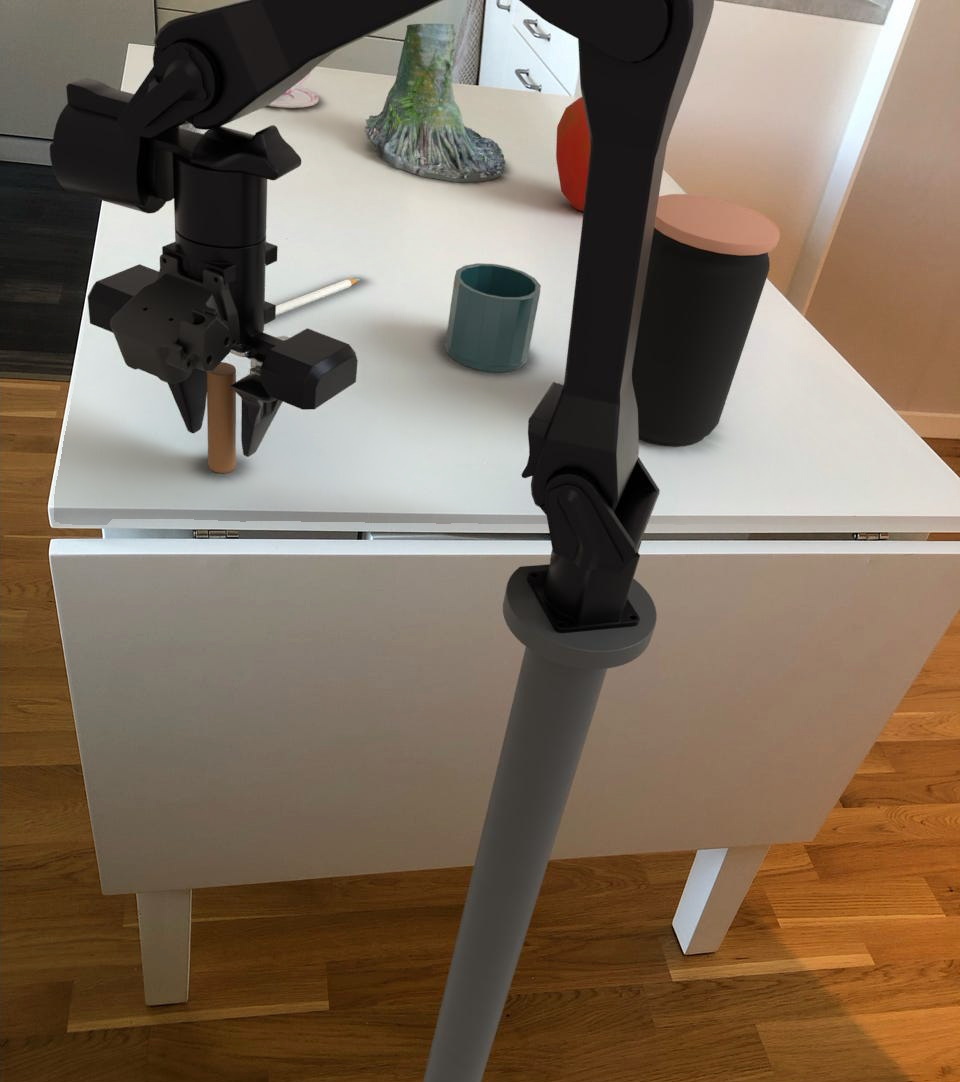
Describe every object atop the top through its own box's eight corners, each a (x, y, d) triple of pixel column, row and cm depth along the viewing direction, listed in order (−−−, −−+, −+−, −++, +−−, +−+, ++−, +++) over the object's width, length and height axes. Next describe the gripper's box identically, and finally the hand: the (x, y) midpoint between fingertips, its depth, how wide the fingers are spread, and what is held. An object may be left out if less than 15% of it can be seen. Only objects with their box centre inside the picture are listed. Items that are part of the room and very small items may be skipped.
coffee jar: (739, 438, 96) (808, 238, 85) (651, 459, 91) (713, 249, 79) (661, 382, 102) (716, 189, 91) (574, 400, 97) (621, 197, 85)
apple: (566, 227, 131) (591, 103, 122) (527, 191, 139) (548, 72, 130) (653, 228, 136) (683, 109, 127) (611, 193, 144) (636, 79, 135)
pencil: (224, 331, 97) (225, 323, 97) (356, 280, 110) (356, 274, 110) (231, 334, 97) (231, 327, 97) (362, 283, 110) (362, 277, 109)
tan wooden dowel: (237, 472, 80) (238, 374, 75) (209, 474, 79) (208, 375, 74) (233, 458, 81) (233, 361, 76) (206, 459, 81) (204, 361, 76)
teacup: (235, 104, 149) (235, 55, 145) (232, 80, 158) (232, 33, 154) (322, 113, 152) (325, 65, 148) (315, 89, 160) (317, 43, 157)
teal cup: (538, 371, 100) (552, 300, 96) (459, 372, 98) (470, 299, 93) (511, 333, 106) (523, 264, 101) (435, 333, 103) (444, 262, 99)
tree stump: (410, 189, 134) (401, 24, 125) (342, 174, 149) (330, 26, 140) (532, 177, 142) (532, 20, 134) (456, 164, 157) (451, 22, 148)
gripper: (13, 218, 66) (42, 441, 76) (267, 315, 61) (261, 540, 71) (137, 179, 74) (148, 385, 84) (370, 262, 69) (352, 470, 79)
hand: (222, 442), depth 79 cm, fingers open, 5 cm apart
